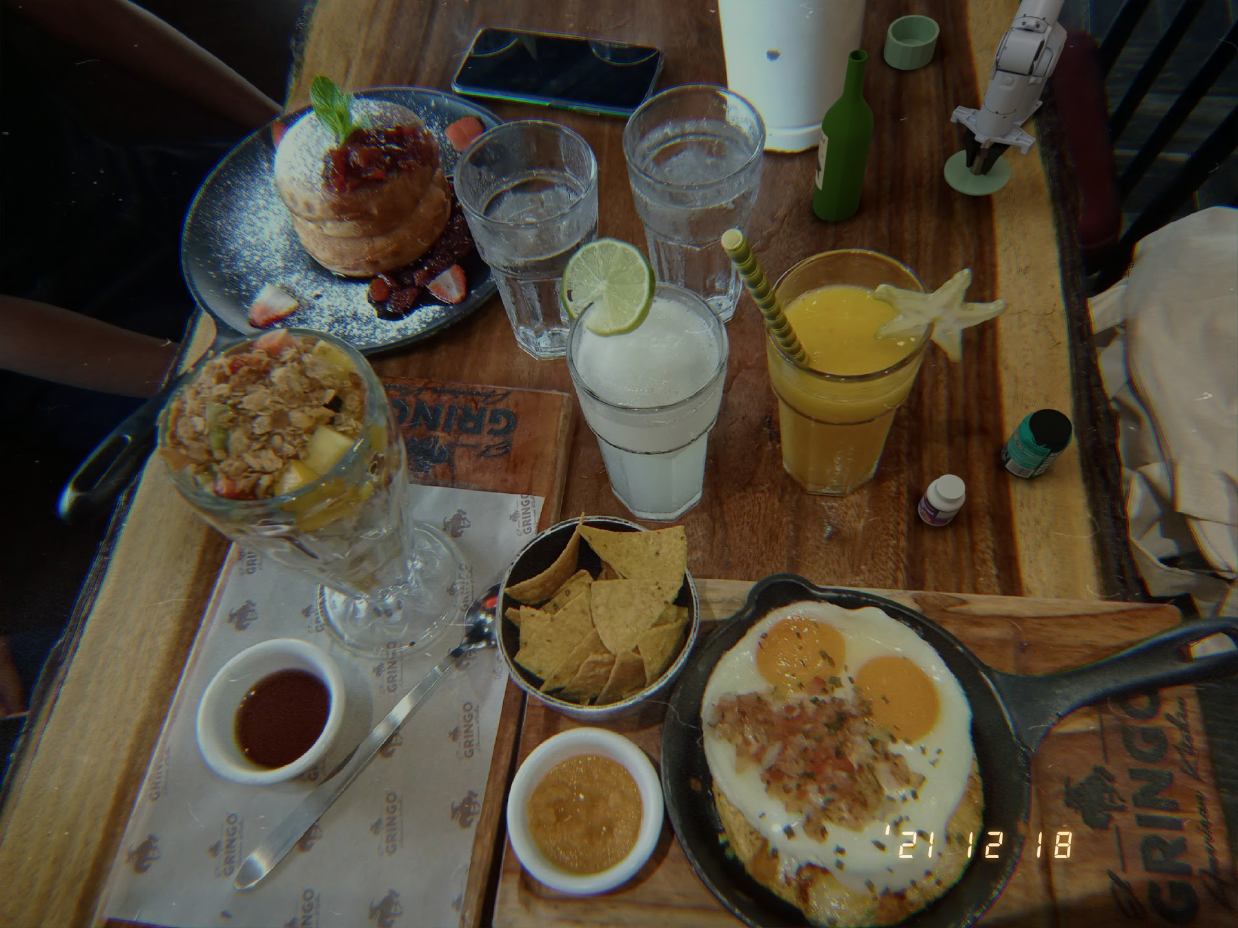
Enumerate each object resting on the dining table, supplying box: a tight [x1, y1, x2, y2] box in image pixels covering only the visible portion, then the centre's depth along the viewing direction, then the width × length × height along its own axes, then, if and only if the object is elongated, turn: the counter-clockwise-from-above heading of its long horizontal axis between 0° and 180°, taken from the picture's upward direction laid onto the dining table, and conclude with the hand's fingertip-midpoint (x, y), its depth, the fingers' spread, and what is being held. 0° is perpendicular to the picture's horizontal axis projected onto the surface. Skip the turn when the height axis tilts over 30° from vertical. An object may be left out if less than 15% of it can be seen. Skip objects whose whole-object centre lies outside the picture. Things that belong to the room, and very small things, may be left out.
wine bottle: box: [812, 49, 875, 222], centre depth 132 cm, size 9×9×32 cm
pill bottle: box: [917, 474, 966, 527], centre depth 112 cm, size 5×5×10 cm
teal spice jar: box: [1000, 408, 1073, 480], centre depth 112 cm, size 7×7×12 cm
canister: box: [883, 14, 941, 71], centre depth 160 cm, size 10×10×6 cm
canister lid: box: [943, 148, 1012, 197], centre depth 133 cm, size 11×11×5 cm
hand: (978, 167), depth 133 cm, fingers closed on canister lid, 2 cm apart
